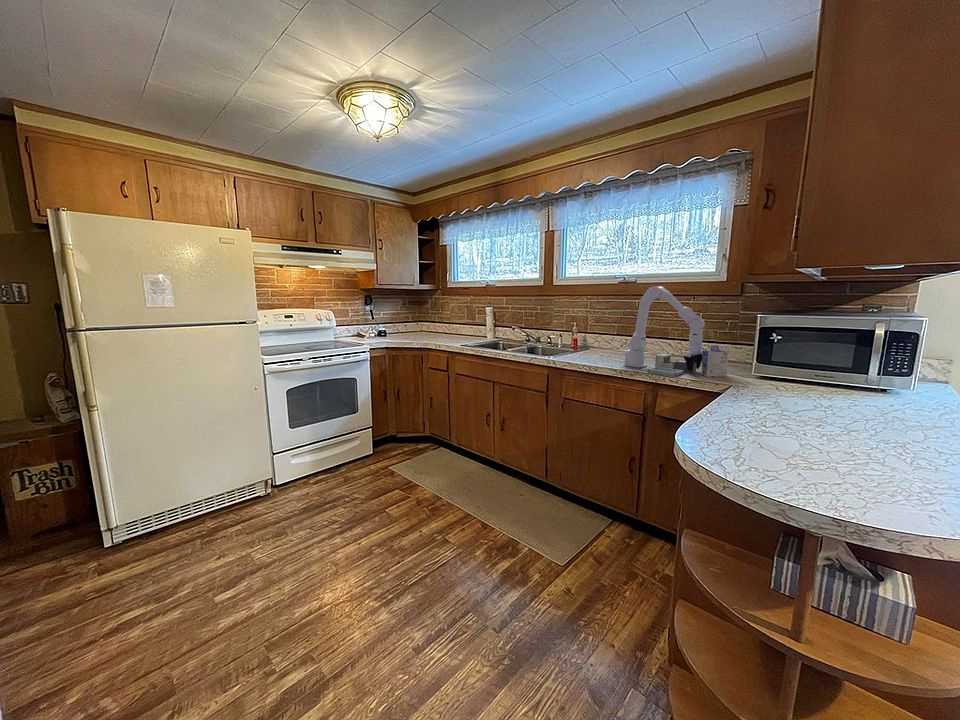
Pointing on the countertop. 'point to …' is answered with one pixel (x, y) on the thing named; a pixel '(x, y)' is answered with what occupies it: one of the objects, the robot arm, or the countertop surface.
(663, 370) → the tray
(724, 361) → the ink cartridge box
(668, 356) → the bay
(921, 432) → the countertop surface
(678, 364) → the gray white block
